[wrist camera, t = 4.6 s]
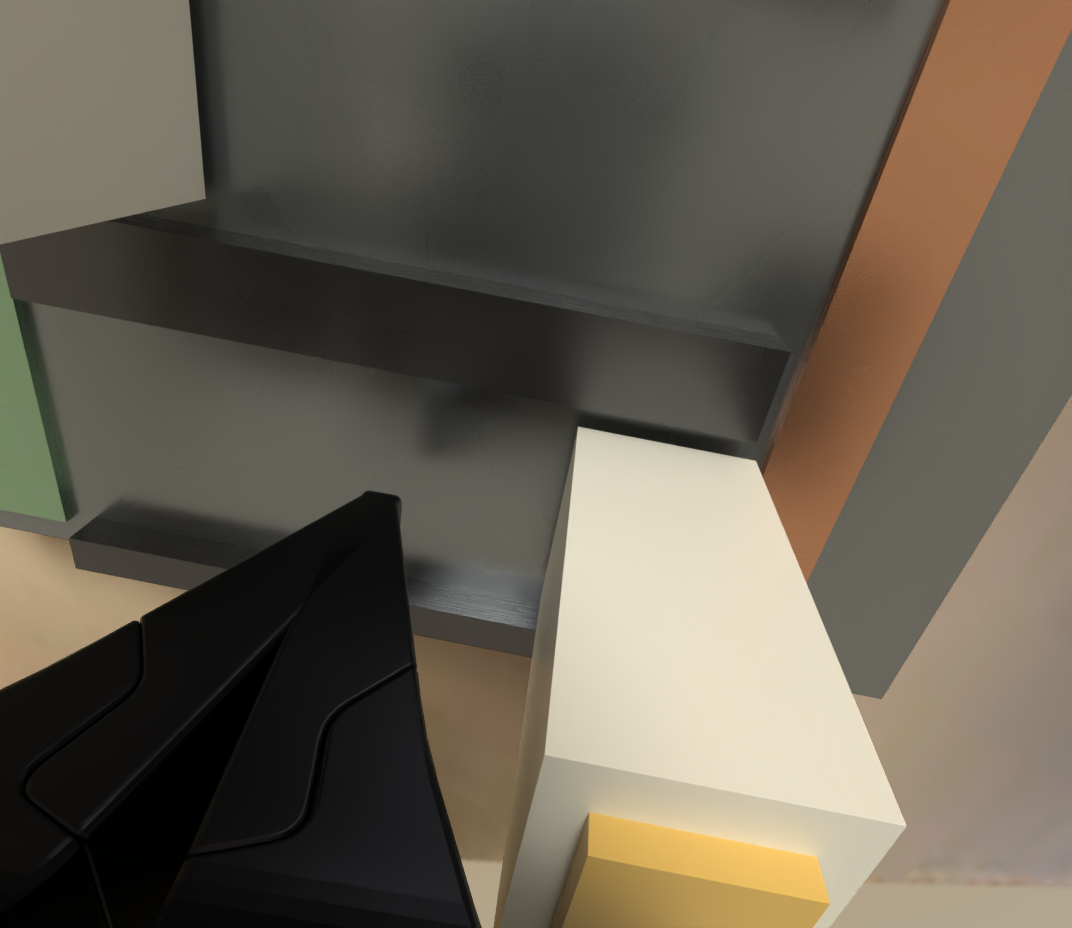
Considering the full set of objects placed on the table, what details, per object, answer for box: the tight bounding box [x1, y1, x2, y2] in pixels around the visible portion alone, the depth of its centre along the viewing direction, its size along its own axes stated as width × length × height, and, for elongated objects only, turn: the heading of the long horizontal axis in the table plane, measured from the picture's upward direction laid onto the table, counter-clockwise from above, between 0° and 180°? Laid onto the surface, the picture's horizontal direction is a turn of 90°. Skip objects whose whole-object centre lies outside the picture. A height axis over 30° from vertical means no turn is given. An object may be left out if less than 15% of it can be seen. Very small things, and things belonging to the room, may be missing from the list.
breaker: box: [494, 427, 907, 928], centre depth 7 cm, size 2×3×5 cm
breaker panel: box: [0, 0, 1072, 699], centre depth 8 cm, size 17×15×3 cm
